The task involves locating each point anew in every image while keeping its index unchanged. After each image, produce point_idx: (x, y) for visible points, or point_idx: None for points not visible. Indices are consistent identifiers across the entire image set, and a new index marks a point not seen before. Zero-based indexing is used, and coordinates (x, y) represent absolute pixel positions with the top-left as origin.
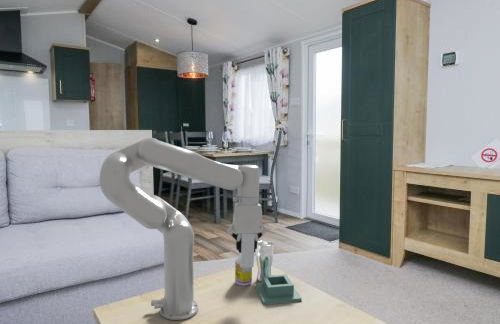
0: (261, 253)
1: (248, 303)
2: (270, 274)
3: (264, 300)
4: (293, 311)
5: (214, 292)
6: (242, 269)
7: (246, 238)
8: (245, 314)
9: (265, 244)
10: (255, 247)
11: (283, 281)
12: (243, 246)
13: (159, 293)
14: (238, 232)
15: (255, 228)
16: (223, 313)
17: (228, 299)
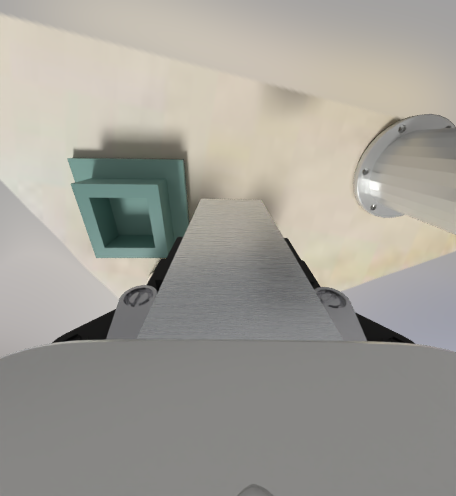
0: None
1: (223, 173)
2: (146, 284)
3: (178, 166)
4: (98, 97)
5: (292, 242)
6: None
7: (256, 292)
8: (243, 111)
9: None
10: (170, 250)
11: (112, 240)
12: (271, 246)
13: (407, 257)
14: (454, 363)
15: (37, 470)
16: (300, 131)
17: (268, 203)
